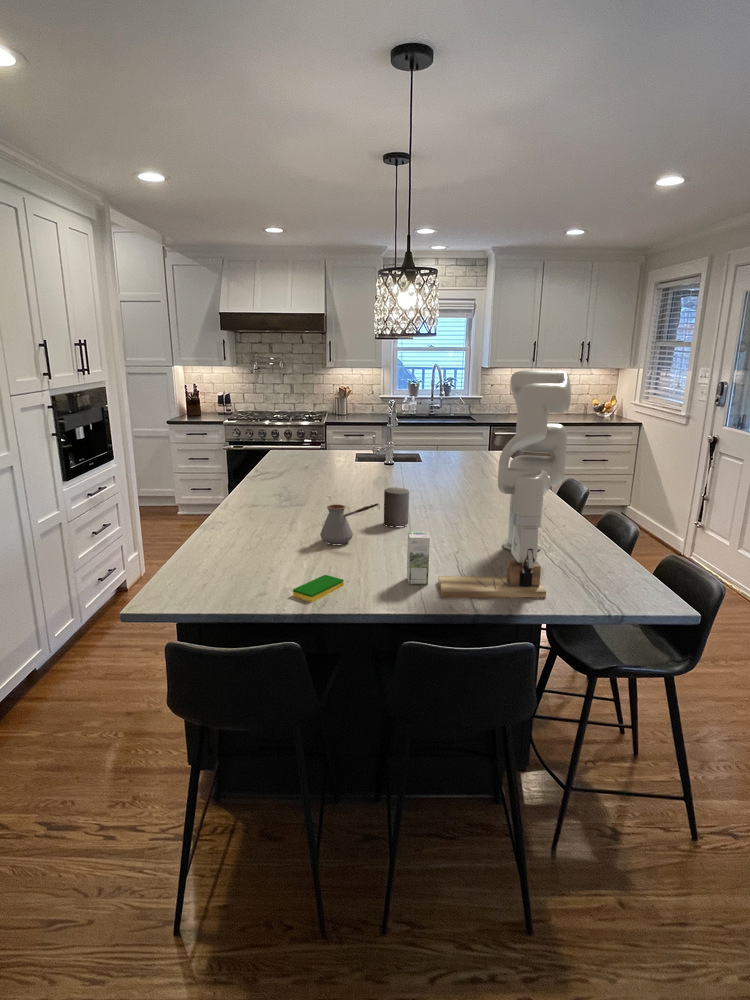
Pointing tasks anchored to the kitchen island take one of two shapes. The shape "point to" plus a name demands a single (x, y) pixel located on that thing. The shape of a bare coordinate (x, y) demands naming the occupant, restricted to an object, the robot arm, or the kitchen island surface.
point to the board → (484, 587)
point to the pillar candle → (396, 506)
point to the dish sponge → (318, 588)
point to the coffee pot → (339, 524)
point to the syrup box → (418, 558)
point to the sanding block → (514, 574)
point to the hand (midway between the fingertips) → (522, 581)
